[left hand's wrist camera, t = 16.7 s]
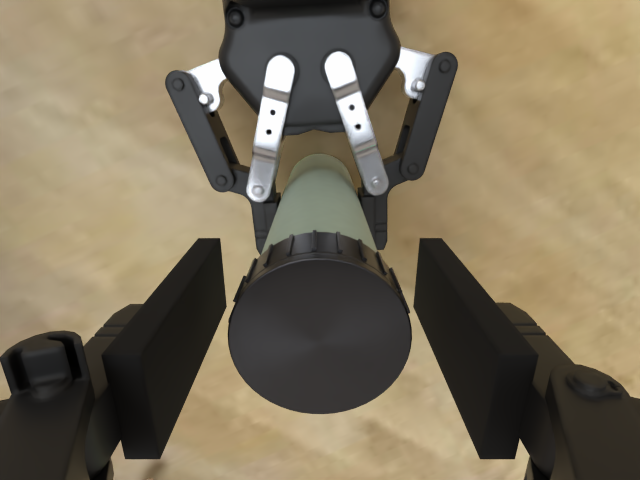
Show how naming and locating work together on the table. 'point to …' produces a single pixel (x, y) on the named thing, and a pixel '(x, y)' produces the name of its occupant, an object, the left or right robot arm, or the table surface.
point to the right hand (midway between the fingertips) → (322, 256)
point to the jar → (319, 202)
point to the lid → (319, 324)
